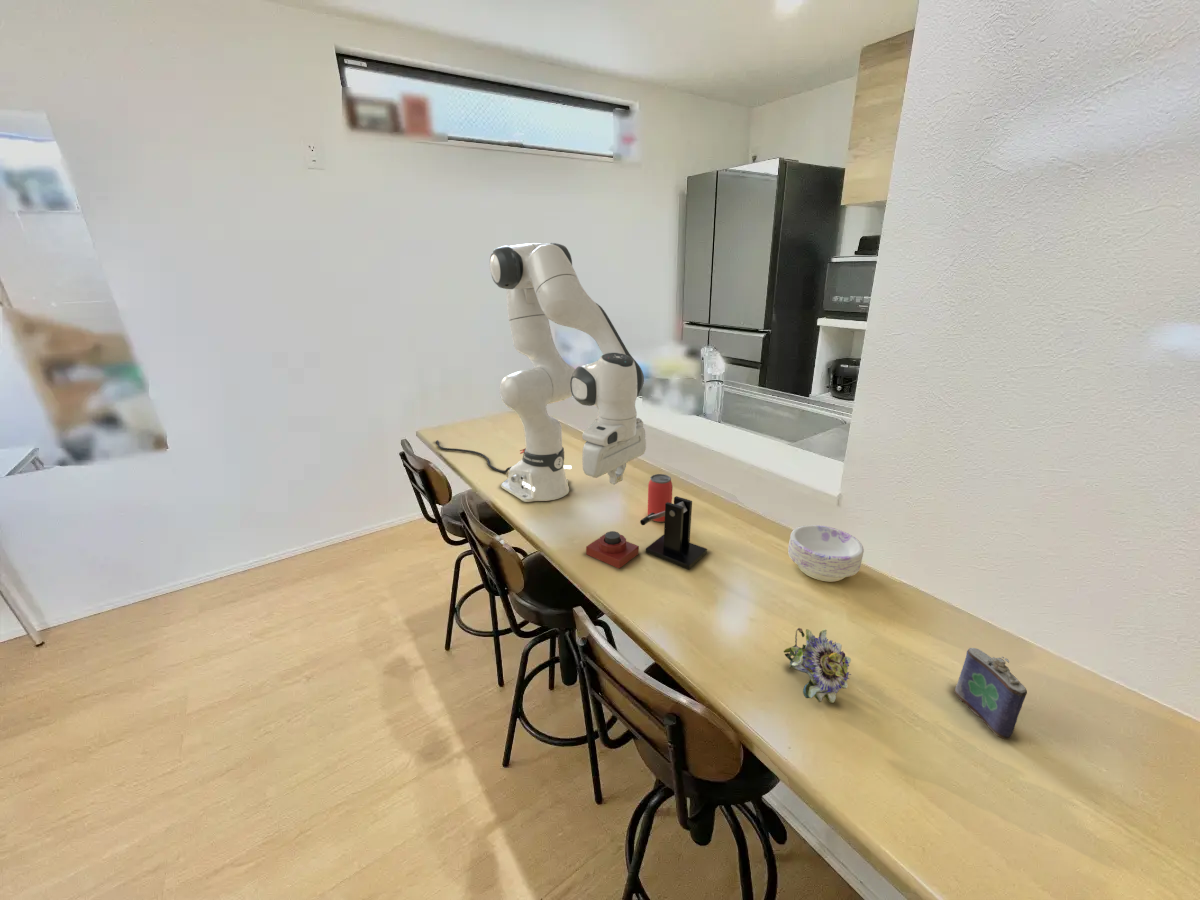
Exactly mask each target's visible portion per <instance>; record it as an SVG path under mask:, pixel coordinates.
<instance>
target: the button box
mask: <svg viewBox="0 0 1200 900" xmlns="http://www.w3.org/2000/svg"><path fill="white" fill-rule="evenodd" d="M605 534H606V533H604V534H602V535H601V536H600V537H599V538H597V539H595V540H594V541H592V542H591V543H589V544H588V545H586V547H585V552H586V556H590V557H591V558H593V559H596V560H598V561H600V562H603V563H605V564H607V565H609V566H611V567H615V568H617V569H621V568H622V567H624V566H625V565H626V564H628V563H629V562H631V560H633V559H634V558H635V557H637V556H638V555H640V554H639V552H640V551H639V550H640V546H639V545H637V544H634V543H633V542H629V541H627V538H626V537H625V536H624V535H622V534H620V542H619V543H618V544H614V545H612V544H607V543H606V542H605Z"/></svg>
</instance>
